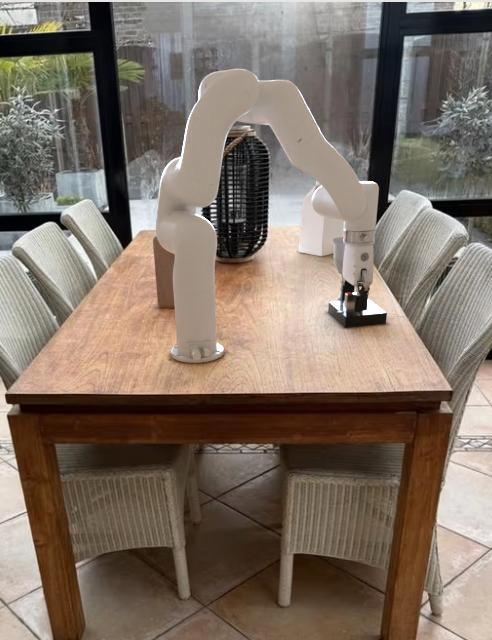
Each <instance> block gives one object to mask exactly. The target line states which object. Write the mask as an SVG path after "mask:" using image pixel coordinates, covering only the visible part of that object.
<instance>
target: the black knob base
mask: <svg viewBox="0 0 492 640" xmlns="http://www.w3.org/2000/svg"><path fill="white" fill-rule="evenodd" d="M344 302H345V301H335V300H334V301H328V309H327V312H328V314H329V315H330V316H331V317H332V318H333V319H335V320H336V321H337V322H338V323H339V325H341V326H342V327H343V328H344V329H348V328H349V329H350V328H358V327H359V328H360V327H371V326H380V325H382V326H383V325H386V324H387V317H388V313H387V312H386V311H385V310H384V309H382V308H381V307H380V306H379V305H377V304H376V303H375V302H373V301H372V300H370V299H369V298H368V303H367V310H366V311H357V312H345V311H344Z"/></svg>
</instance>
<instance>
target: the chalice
mask: <svg viewBox="0 0 492 640" xmlns="http://www.w3.org/2000/svg"><path fill="white" fill-rule="evenodd" d="M333 242H334V253H333V261H334V265H335V267H336V270H337V272H338V274H339V275H341V279H340V284H341V286H340V288H339V290H340V294H339V296H337V297H336V298H335V300H334V301H342V285H343V284H342V281H343V276H342V275H343V258H344V250H345V244H344V243H343V237H338V238H334V239H333Z"/></svg>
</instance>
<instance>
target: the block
mask: <svg viewBox="0 0 492 640" xmlns="http://www.w3.org/2000/svg"><path fill="white" fill-rule="evenodd" d="M152 249H153V260H154V274H155V275H154V276H155V287H156V300H157V306H158V308H162V309H175V305H174V291H173V268H174V261H175V254H173V253H171V252H169V251H167V250H165V249H164V248H163V247H162V246H161V245H160V243H159V241H158V239H157V235H155V236H154V237H153V239H152Z"/></svg>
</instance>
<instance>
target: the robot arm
mask: <svg viewBox="0 0 492 640" xmlns="http://www.w3.org/2000/svg"><path fill="white" fill-rule="evenodd" d="M236 122H240V123H246V124H254V125H263V126H264V125H265V126H269V127H270V128H271V130H272V133H273V134H274V136H275V137H276V139H277V141H278V142H279V144H280V146H281V147H282V149H283V151H284V154H285V155H286V156H287V158H288V160H289V161H290V163H291V164H292V165H293V166H294V167H296V169H298V170H299V171H301V172H302V173H304V174H306V175H307V176H310V178H313V179H314V180H315V181H316V180H317V181H318V182H319V183H320V184H321V185H322V186H320V187H319V188H318V189H317V190H316V191H315V192H314V194H313V197H312V206H313V208H314V210H315V211H316V213H318V214H319V215H321V216H323V217H327V218H331V219H337V220H341V221H344V237H343V243H344V244H345V250H344V258H343V275H342V274H341V277H342V276H343V281H342V284H343V285H342V301H345V293H347V292H350V293H357V295H355V304H354V311H366V310H367V303H368V299H369V295H370V290H371V288H370V287H371V285H372V284H373V282H374V264H375V263H374V262H375V261H374V259H375V257H374V244H375V239H376V228H377V226H376V225H377V215H378V206H379V205H378V204H379V191H380V187H379V185H378V183H377V182H374V181H370V180H369V181H368V180H362V181H361V180H360V178H359V177H358V175H357V174H356V172H355V170H354V168H353V167H352V166H351V164H350V163H349V162H348V161H347V160H346V159H345V158H344V157H343V156H342V155H341V154H340V152H338V150H337V149H336V148H335V147H334V146H333V145H332V144H331V143H330V142H328V141H327V140H326V138H325V136H324V135H323V133H322V132H321V129H320V127H319V125H318V124H317V122H316V119H315V118H314V116H313V114H312V112H311V110H310V108H309V107H308V104H307V103H306V101H305V98H304V97H303V94H302V93H301V91H300V89H299V88H298V87H297V85H296V84H295V83H293V82H292V81H290V80H287V79H272V80H259V79H258V77H257V75H256V74H255V73H253V72H252V71H251V70H248V69H245V68H232V69H226V70H217V71H213V72H210V73H209V74H207V75H206V76H204V78H203V79H202V81H201V82H200V85H199V89H198V100H197V102H196V103H195V104H194V106H193V108H192V110H191V112H190V114H189V117H188V120H187V122H186V126H185V132H184V138H183V145H182V150H181V156H179V157H176V158H174V159H172V160H170V162H168V164H167V165H166V166H165V168H164V169H163V172H162V174H161V176H160V177H161V178H160V182H159V190H158V199H157V208H156V219H155V236H157V239H158V241H159V243H160V245H161V246H162V247H163V248H164V249H165V250H167V251H169V252H171V253H173V254H175V261H174V268H173V291H174V305H175V308H174V318H175V333H176V334H175V335H176V345H175V346H173V347H172V348H171V349H170V356H171V358H173V359H174V360H176V361H178V362H181V363H189V364H198V363H199V364H200V363H206V362H212V361H215V360H217V359H219V358H221V357H222V356H223V355H224V352H225V351H224V346H223V345H222V344H220V343H218V339H217V338H218V336H217V334H218V333H217V305H216V302H217V301H216V280H215V279H216V278H215V277H216V273H215V271H216V270H215V269H216V258H217V249H218V236H217V231H216V229H215V227H214V226H213V224H212V223H211V222H210V221H209V220H208V219H207V218H205V217H204V216H202V215H200V214H197V209H198V208H199V209H200V208H206V207H209V206H210V205H212V204H213V203H214V201H215V200H216V198H217V196H218V192H219V186H220V179H221V172H222V164H223V157H224V151H225V146H226V141H227V137H228V135H229V132H230V131H231V129H232V127H233V125H235V124H236Z"/></svg>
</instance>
